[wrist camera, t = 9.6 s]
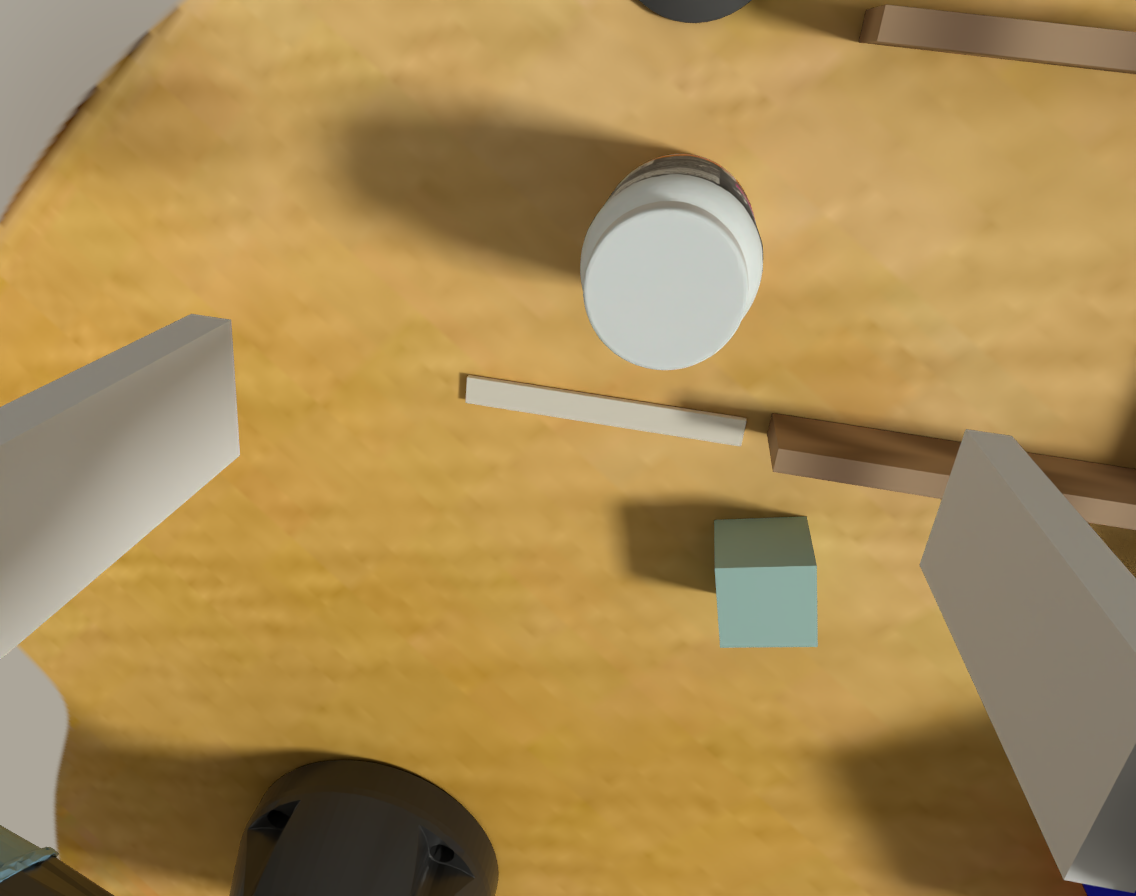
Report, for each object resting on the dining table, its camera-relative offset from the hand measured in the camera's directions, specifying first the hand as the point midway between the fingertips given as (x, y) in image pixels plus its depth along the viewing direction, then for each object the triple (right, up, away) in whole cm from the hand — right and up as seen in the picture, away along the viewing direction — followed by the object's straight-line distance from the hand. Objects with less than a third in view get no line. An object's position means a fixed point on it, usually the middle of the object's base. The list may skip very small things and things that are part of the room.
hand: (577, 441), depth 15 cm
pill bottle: (+4, +8, +17) cm, 20 cm away
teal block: (+9, -5, +23) cm, 25 cm away
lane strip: (+1, +2, +21) cm, 21 cm away
